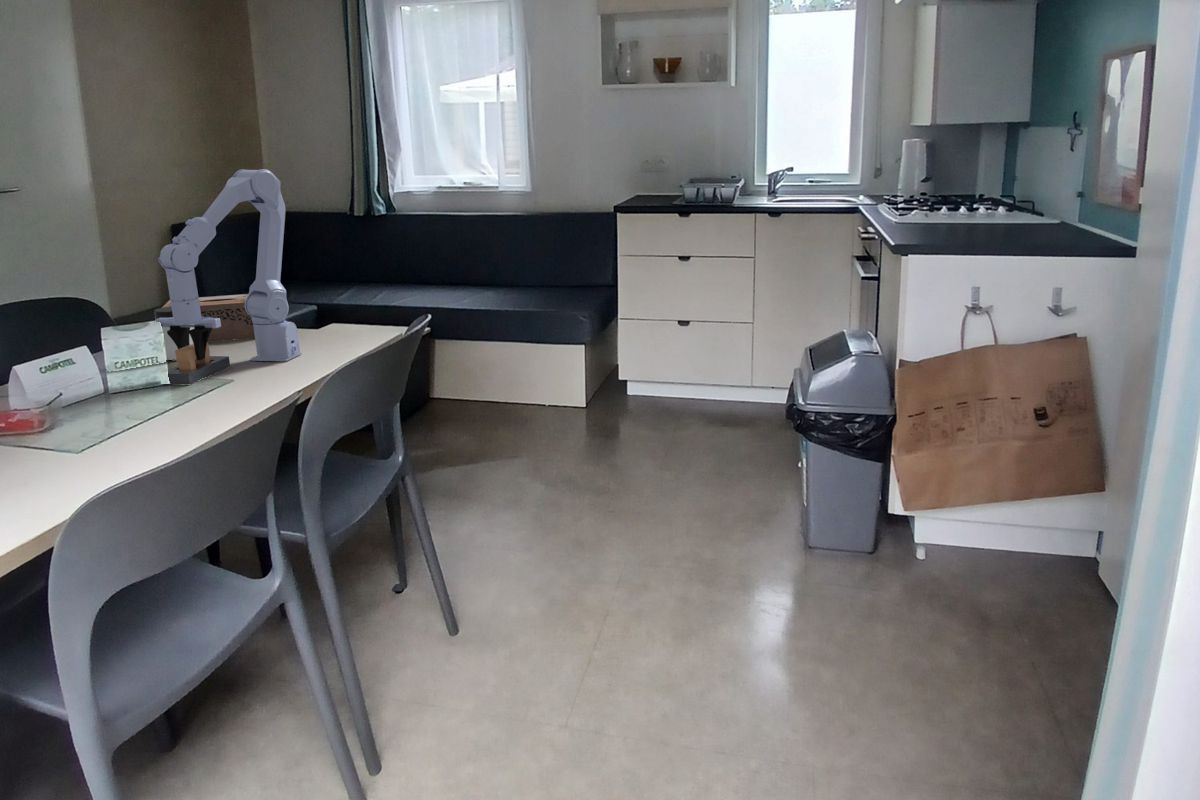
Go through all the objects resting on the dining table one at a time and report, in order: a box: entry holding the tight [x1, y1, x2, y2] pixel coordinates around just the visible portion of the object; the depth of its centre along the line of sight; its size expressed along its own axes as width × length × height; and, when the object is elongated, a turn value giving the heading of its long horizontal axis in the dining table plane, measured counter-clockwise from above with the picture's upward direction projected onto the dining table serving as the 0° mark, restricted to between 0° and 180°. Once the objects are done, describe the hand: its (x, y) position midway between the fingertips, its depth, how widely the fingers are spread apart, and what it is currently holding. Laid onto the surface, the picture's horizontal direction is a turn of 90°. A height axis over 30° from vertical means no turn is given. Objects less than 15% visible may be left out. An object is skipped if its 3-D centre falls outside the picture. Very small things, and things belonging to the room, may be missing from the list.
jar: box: [153, 306, 194, 361], centre depth 223 cm, size 9×8×12 cm
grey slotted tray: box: [167, 355, 231, 385], centre depth 206 cm, size 16×7×2 cm, turn 170°
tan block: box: [175, 342, 211, 370], centre depth 205 cm, size 8×3×6 cm, turn 170°
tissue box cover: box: [161, 293, 255, 343], centre depth 247 cm, size 26×14×10 cm, turn 106°
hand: (194, 359), depth 205 cm, fingers closed on tan block, 3 cm apart
